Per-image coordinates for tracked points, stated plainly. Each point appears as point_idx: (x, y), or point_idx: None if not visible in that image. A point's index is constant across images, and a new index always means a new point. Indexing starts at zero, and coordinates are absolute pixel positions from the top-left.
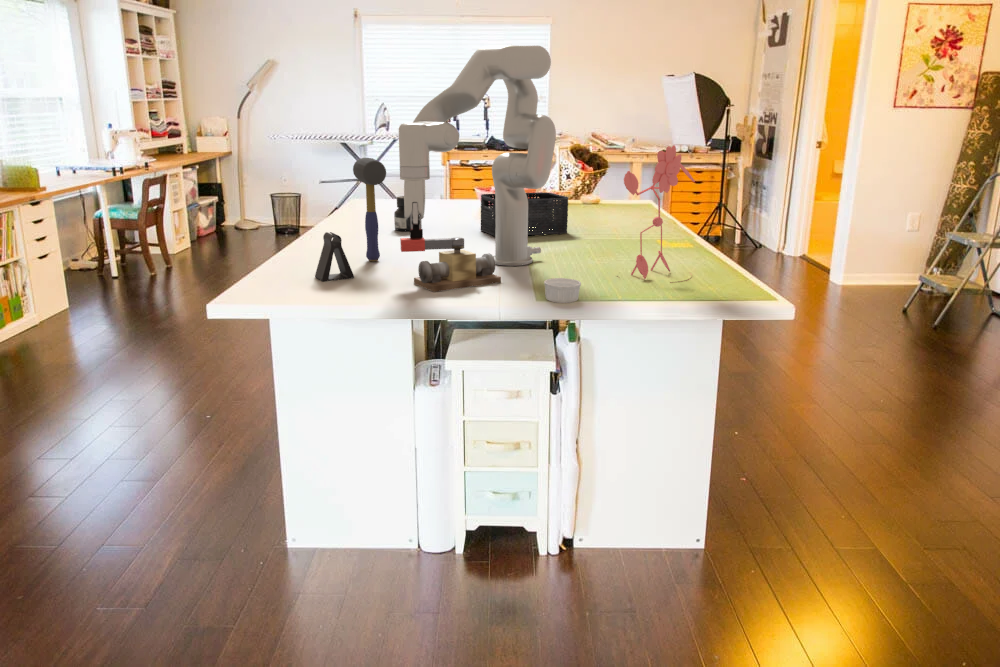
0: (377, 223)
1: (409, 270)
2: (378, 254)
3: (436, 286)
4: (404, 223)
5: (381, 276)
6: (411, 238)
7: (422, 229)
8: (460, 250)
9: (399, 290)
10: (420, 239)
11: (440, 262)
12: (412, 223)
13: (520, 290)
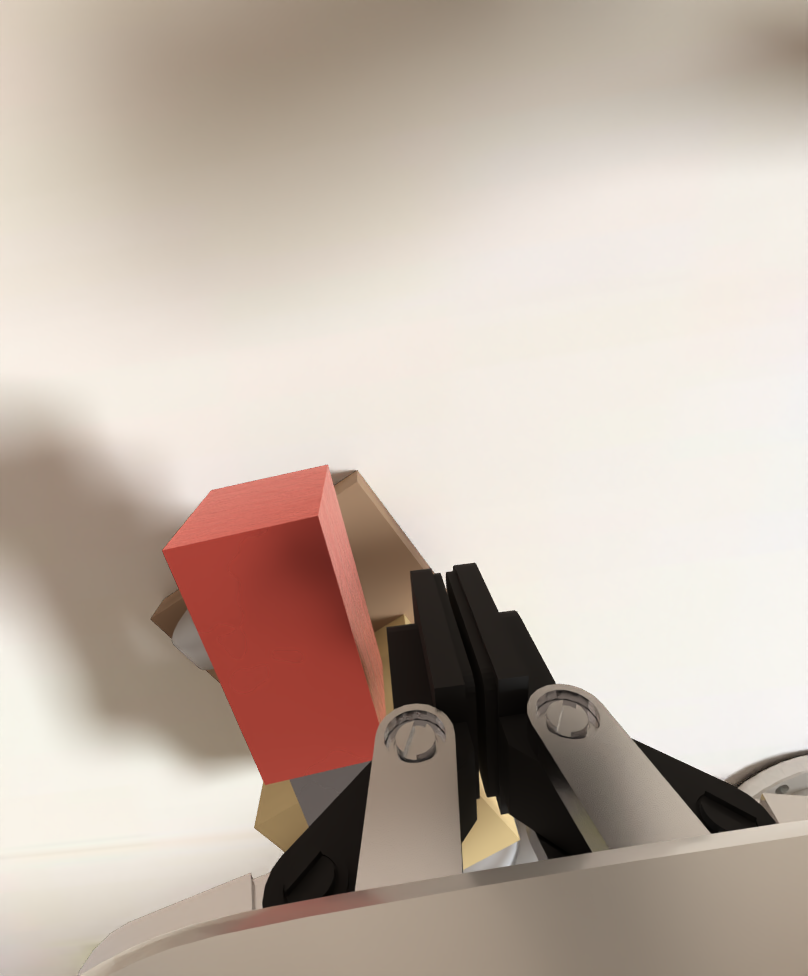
0: None
1: (718, 392)
2: None
3: (163, 627)
4: None
5: (566, 218)
6: (318, 649)
7: (502, 812)
8: (482, 837)
9: (166, 408)
10: (261, 747)
11: None
12: (273, 889)
13: None
